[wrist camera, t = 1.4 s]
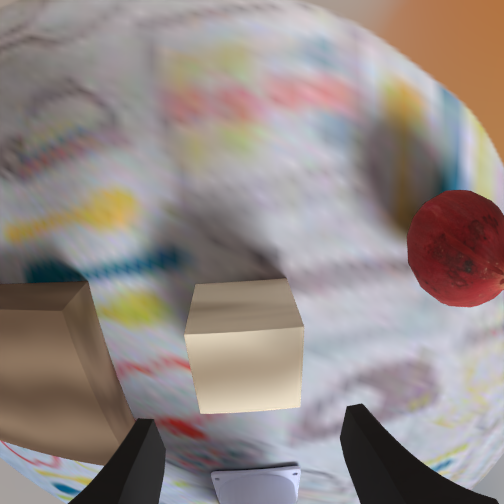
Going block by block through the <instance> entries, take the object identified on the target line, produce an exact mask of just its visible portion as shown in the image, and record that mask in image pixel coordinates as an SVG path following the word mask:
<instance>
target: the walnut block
mask: <svg viewBox="0 0 504 504" xmlns="http://www.w3.org/2000/svg"><path fill="white" fill-rule="evenodd" d="M134 423H135V420H134V418H133V415H132V413H131V411H130V408H129V406H128V403H127V401H126V398H125V396H124V393H123V391H122V388H121V386H120V383H119V380H118V378H117V375H116V372H115V369H114V366H113V364H112V361H111V358H110V355H109V352H108V349H107V346H106V343H105V340H104V337H103V333H102V330H101V327H100V324H99V320H98V317H97V313H96V310H95V306H94V302H93V299H92V295H91V291H90V287H89V283H88V281H77V282H51V283H21V284H0V440H1V441H4V442H7V443H10V444H14V445H17V446H20V447H23V448H27V449H30V450H34V451H37V452H41V453H45V454H49V455H53V456H57V457H61V458H66V459H70V460H75V461H80V462H85V463H91V464H97V465H103V466H105V465H106V464H107V462H108V461H109V460H110V458H111V457H112V456H113V454H114V453H115V452H116V450H117V449H118V447H119V446H120V445H121V443H122V442H123V440H124V439H125V437H126V436H127V434H128V433H129V431H130V429H131V428H132V426H133V425H134Z"/></svg>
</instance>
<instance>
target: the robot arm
mask: <svg viewBox="0 0 504 504" xmlns="http://www.w3.org/2000/svg"><path fill="white" fill-rule="evenodd" d="M340 441H341V446H342V450H343V455H344V459H345V462H346V465H347V468H348V470H349V473H350V476H351V479H352V481H353V484H354V487H355V490H356V492H357V495H358V498H359V500H360V503H361V504H499V503H498V501H497V500H496V499H494V498H491V497H488V496H484V495H481V494H478V493H475V492H473V491H471V490H468V489H466V488H464V487H462V486H460V485H458V484H456V483H454V482H452V481H450V480H448V479H446V478H445V477H443V476H441V475H440V474H438V473H437V472H435V471H433V470H432V469H430V468H429V467H428V466H426V465H425V464H423V463H422V462H421V461H420V460H418V459H417V458H416V457H415V456H413V455H412V454H411V453H410V452H409V451H408V450H406V449H405V448H404V447H403V446H402V445H401V444H400V443H399V442H398V441H397V440H396V439H395V438H394V437H393V436H392V435H391V434H390V433H389V432H388V431H387V430H386V429H385V428H384V427H383V426H382V425H381V424H380V423H379V422H378V421H377V420H376V418H375V417H374V416H373V415H372V414H371V413H370V412H369V410H368V409H367V408H366V407H365V406H364V405H363V404H357V405H352V406H347V408H346V413H345V417H344V422H343V426H342V431H341V435H340ZM165 451H166V449H165V447H164V445H163V442H162V440H161V437H160V435H159V432H158V430H157V427H156V425H155V422H154V419H140V418H138V419H137V420H136V422H135V423H134V425H133V426H132V428H131V429H130V431H129V433H128V434H127V436H126V437H125V439H124V440H123V442H122V443H121V445H120V446H119V447H118V449H117V450H116V452H115V453H114V454H113V456H112V457H111V458H110V460H109V461H108V462H107V464H106V465H105V466H104V467H103V468H102V470H101V471H100V472H99V473H98V475H97V476H96V477H95V478H94V479H93V480H92V481H91V482H90V483H89V485H88V486H87V487H86V488H85V489H84V490H83V491H82V492H80V493H79V494H78V495H77V496H76V497H75V498H74V499H73V500H71V501H70V502H69V503H68V504H158V503H159V498H160V492H161V487H162V482H163V476H164V468H165ZM300 473H301V468H300V467H299V466H289V467H280V468H270V469H257V470H240V471H214V472H212V473H211V478H212V481H213V485H214V488H215V491H216V494H217V497H218V500H219V503H220V504H298V503H297V495H298V488H299V481H300Z"/></svg>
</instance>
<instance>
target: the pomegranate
mask: <svg viewBox="0 0 504 504" xmlns="http://www.w3.org/2000/svg"><path fill="white" fill-rule="evenodd" d="M407 248H408V263H409V265H410V267H411V269H412V271H413V273H414V275H415V277H416V278H417V280H418V282H419V284H420V286H421V287H422V288H423V289H424V290H425V291H427V292H428V293H429V294H430V295H432V296H433V297H434V298H436V299H437V300H438V301H440V302H441V303H443V304H446V305H448V306H456V307H474V306H478V305H480V304H483V303H485V302H488V301H490V300H492V299H494V298H495V297H496V296H497V295H498V294H499V293H500V292H501V291H502V290H504V215H503V213H502V212H501V210H500V209H499V207H498V206H496V205H495V204H494V203H493V202H492V201H491V200H489V199H487V198H485V197H483V196H481V195H478V194H476V193H474V192H472V191H467V190H451V191H445V192H443V193H441V194H439V195H438V196H436V197H434V198H432V199H431V200H429V201H427V202H425V203H424V204H423V206H422V207H421V208H420V209H419V211H418V212H417V213H416V214H415V216H414V217H413V219H412V222H411V225H410V228H409V231H408V234H407Z"/></svg>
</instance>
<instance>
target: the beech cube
mask: <svg viewBox="0 0 504 504" xmlns="http://www.w3.org/2000/svg"><path fill="white" fill-rule="evenodd" d="M184 337H185V342H186V347H187V353H188V358H189V363H190V367H191V372H192V377H193V382H194V386H195V391H196V395H197V400H198V404H199V409H200V413H201V414H216V413H239V412H254V411H267V410H278V409H288V408H296V407H300V400H301V384H302V366H303V345H304V325H303V322H302V319H301V316H300V313H299V311H298V308H297V305H296V302H295V300H294V297H293V294H292V292H291V289H290V286H289V283H288V281H287V278H283V279H270V280H255V281H240V282H225V283H208V284H195V289H194V293H193V297H192V301H191V306H190V310H189V315H188V319H187V323H186V328H185V333H184Z"/></svg>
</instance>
